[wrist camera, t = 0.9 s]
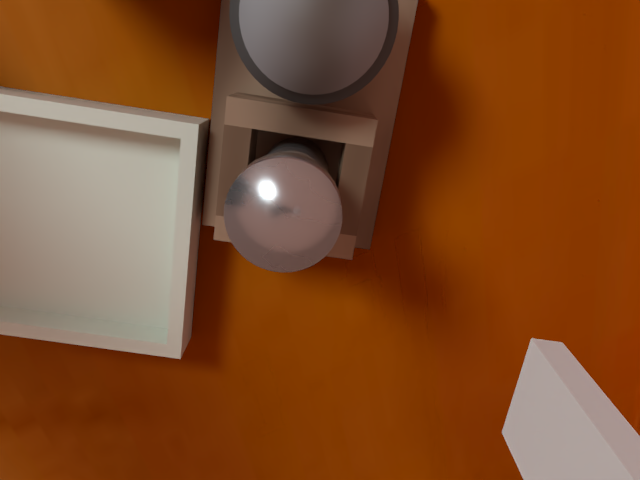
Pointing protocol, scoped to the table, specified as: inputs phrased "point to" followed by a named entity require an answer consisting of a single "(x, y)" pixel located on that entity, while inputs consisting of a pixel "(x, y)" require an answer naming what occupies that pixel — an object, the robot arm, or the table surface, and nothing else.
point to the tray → (99, 222)
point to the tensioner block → (309, 97)
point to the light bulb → (284, 208)
